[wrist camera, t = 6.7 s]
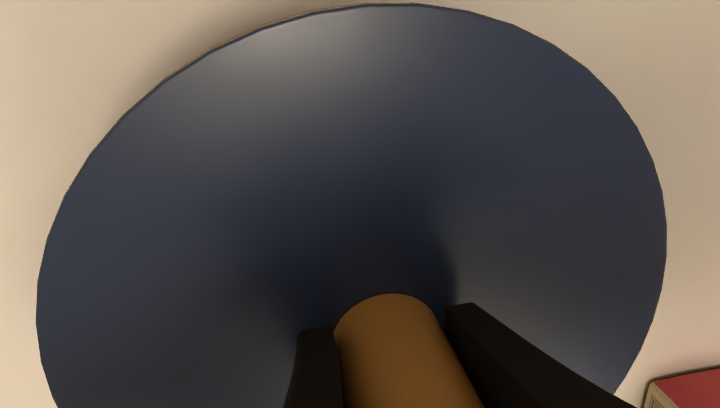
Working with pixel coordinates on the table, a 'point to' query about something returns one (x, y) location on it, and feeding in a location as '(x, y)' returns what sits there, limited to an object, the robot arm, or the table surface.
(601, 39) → the table surface
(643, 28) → the table surface
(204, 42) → the table surface
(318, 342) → the robot arm
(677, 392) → the small box
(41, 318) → the tin lid
